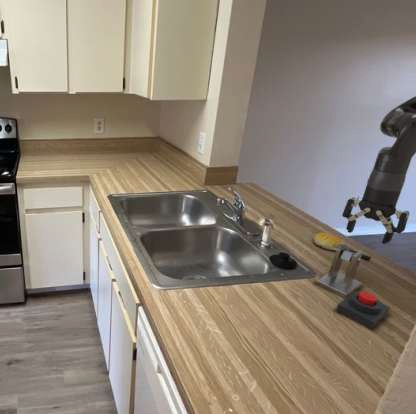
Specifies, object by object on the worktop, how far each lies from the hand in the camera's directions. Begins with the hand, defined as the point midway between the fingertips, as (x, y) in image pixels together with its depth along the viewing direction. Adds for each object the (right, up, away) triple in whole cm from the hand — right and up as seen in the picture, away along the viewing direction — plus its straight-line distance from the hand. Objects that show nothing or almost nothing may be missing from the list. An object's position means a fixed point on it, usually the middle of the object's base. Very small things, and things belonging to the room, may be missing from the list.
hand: (366, 237), depth 98 cm
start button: (-10, -16, -12) cm, 22 cm away
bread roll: (+4, -5, +22) cm, 23 cm away
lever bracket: (-8, -14, +1) cm, 16 cm away
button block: (-10, -19, -10) cm, 24 cm away
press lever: (-4, -7, 0) cm, 8 cm away
